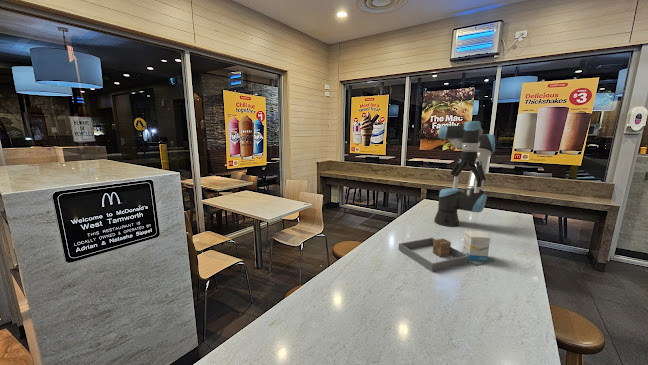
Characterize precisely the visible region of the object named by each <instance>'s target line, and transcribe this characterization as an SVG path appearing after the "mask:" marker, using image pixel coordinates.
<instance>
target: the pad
mask: <svg viewBox="0 0 648 365" xmlns="http://www.w3.org/2000/svg"><path fill="white" fill-rule="evenodd" d="M461 252H462V253H463V251H461ZM494 262H496V259H493V258H492V257H489V256H488V260H487V261H479V260H469V262H468V263H470V264H472V265H474V266H476V267H477V266H480V265H485V264H489V263H494Z"/></svg>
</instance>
